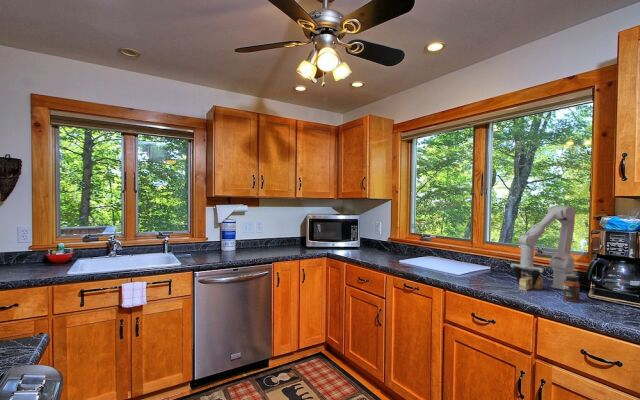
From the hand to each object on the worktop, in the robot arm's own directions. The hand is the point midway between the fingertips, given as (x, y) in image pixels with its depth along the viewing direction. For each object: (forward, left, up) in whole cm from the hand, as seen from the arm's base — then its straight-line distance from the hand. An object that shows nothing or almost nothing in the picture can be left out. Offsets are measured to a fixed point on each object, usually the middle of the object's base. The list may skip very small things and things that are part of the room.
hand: (526, 283), depth 163 cm
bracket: (0, -6, -3) cm, 7 cm away
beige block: (0, 0, -3) cm, 3 cm away
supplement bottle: (-20, +4, -3) cm, 21 cm away
